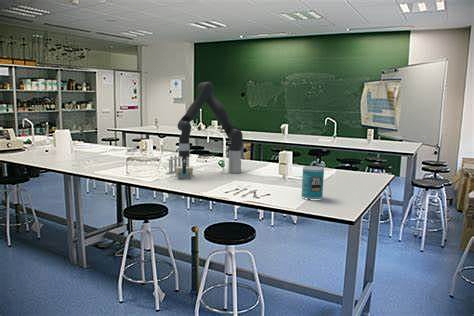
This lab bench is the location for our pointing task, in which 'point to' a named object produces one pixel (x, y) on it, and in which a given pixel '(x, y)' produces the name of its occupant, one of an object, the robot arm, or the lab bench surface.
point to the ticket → (186, 167)
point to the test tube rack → (175, 163)
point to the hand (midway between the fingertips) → (184, 172)
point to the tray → (184, 176)
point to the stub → (182, 172)
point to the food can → (312, 182)
